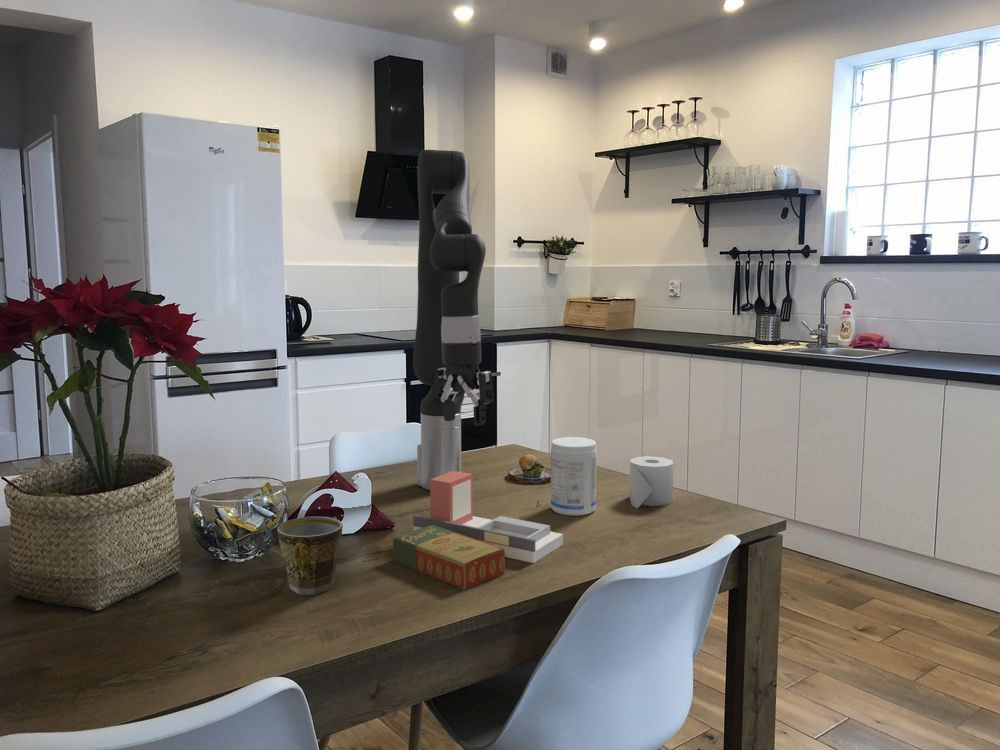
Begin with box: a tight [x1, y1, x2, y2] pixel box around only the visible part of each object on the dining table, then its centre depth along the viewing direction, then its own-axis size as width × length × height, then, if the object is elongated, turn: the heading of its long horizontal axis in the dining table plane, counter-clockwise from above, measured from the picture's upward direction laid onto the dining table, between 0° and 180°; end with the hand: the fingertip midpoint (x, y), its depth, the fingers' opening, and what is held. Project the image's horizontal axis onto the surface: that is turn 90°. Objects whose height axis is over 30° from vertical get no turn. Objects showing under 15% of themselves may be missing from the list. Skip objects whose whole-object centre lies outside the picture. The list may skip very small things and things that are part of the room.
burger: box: [507, 450, 551, 485], centre depth 194 cm, size 12×12×8 cm
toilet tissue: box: [628, 455, 675, 509], centre depth 174 cm, size 9×13×9 cm
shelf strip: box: [412, 514, 564, 564], centre depth 150 cm, size 26×11×4 cm, turn 58°
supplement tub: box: [550, 436, 598, 517], centre depth 168 cm, size 10×10×15 cm
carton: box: [392, 525, 506, 590], centre depth 137 cm, size 10×18×5 cm, turn 45°
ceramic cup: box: [277, 515, 344, 596], centre depth 126 cm, size 13×10×10 cm
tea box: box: [429, 471, 474, 524], centre depth 153 cm, size 5×8×9 cm, turn 148°
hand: (464, 422), depth 156 cm, fingers open, 8 cm apart
